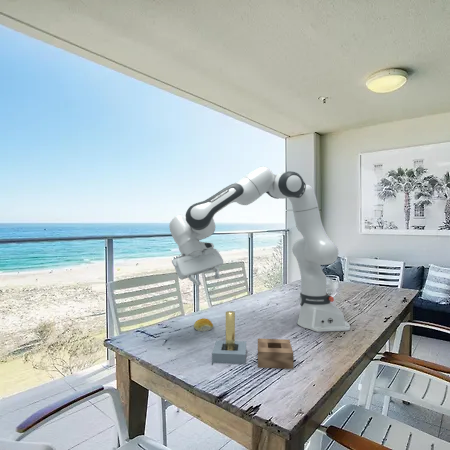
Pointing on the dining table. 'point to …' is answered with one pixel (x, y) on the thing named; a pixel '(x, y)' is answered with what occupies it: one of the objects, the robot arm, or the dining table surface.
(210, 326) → the bread roll
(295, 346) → the dining table surface
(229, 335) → the brass peg
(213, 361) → the slate socket block
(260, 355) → the walnut bore block
